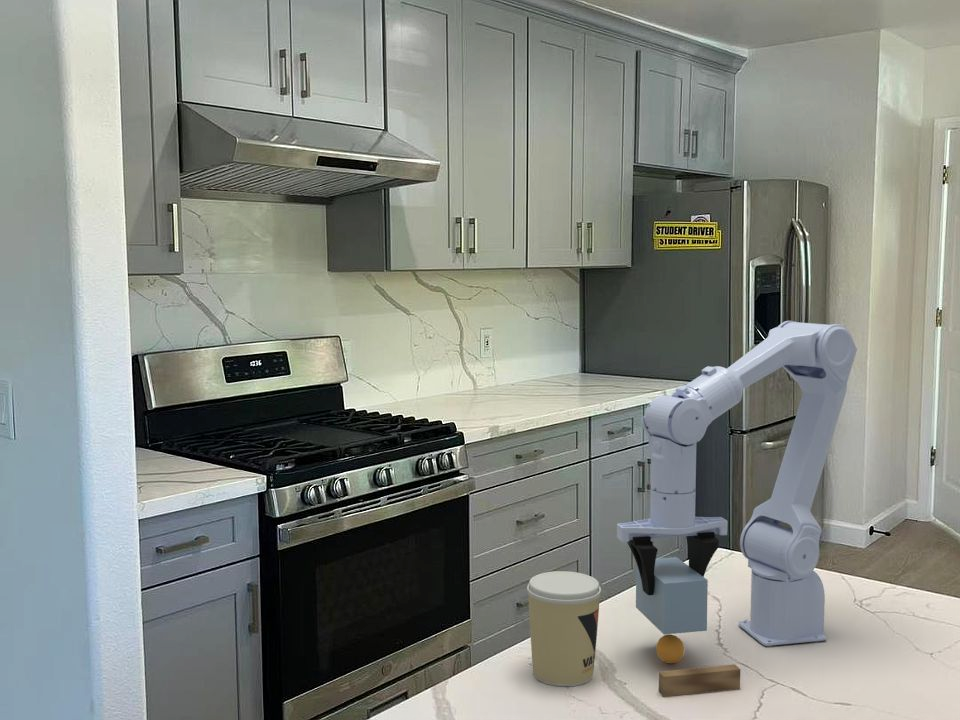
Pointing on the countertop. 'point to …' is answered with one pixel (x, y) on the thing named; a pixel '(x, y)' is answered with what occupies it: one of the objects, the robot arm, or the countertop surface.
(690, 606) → the blue-grey rectangular block
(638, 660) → the countertop surface
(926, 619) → the countertop surface
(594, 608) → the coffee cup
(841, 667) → the countertop surface
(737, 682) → the brown rectangular block
